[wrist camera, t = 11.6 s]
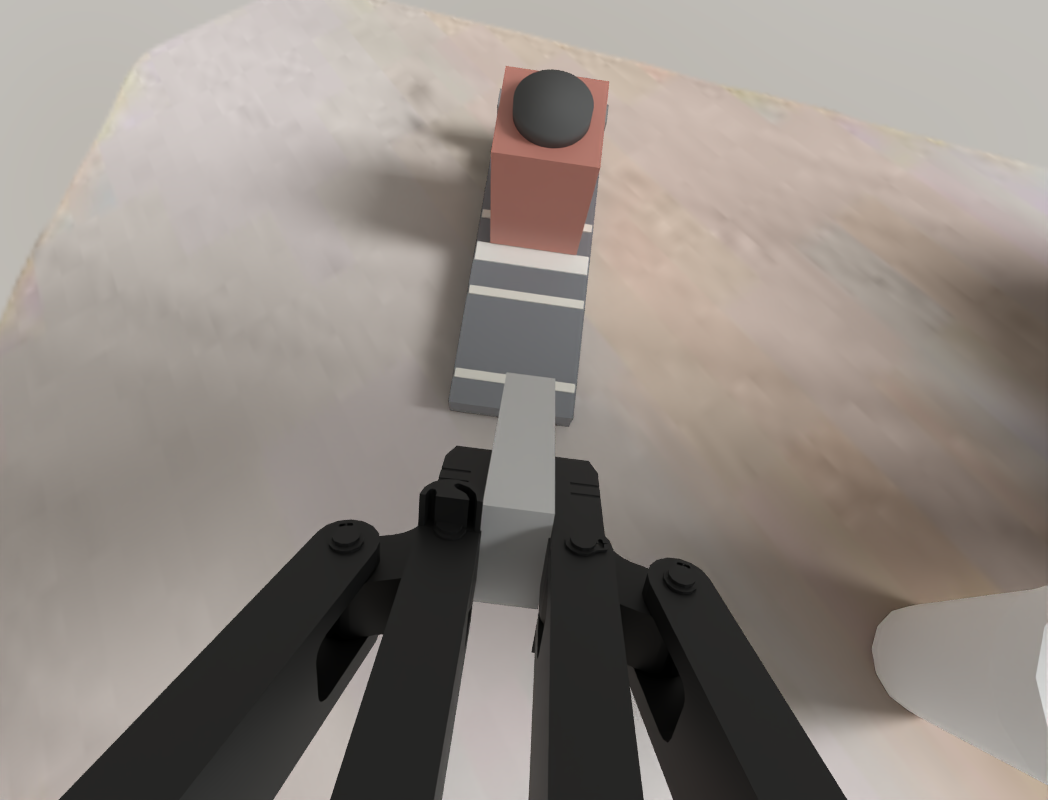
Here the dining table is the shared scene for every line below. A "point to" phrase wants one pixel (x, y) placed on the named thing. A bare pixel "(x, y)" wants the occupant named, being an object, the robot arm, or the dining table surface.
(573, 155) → the plug
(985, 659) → the foam cup
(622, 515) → the dining table surface
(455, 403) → the track
